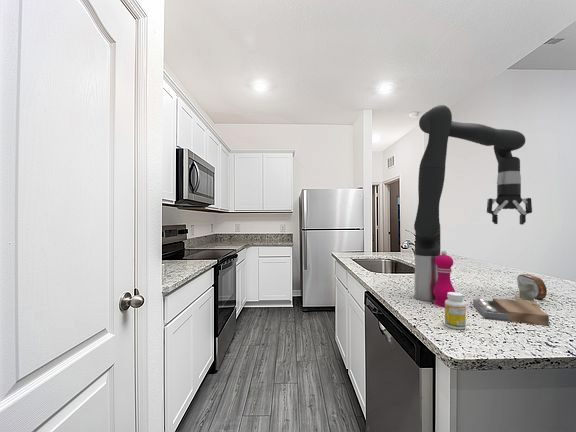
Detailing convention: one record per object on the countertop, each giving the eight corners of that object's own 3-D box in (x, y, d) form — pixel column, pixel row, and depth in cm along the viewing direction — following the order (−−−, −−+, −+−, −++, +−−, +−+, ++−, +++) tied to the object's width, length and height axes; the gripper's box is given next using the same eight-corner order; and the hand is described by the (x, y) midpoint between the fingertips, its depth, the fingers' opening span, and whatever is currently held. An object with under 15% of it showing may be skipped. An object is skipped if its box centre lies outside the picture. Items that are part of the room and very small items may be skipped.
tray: (485, 318, 91) (485, 312, 91) (473, 304, 105) (473, 299, 106) (508, 321, 88) (507, 314, 88) (492, 306, 103) (492, 300, 103)
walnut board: (508, 321, 88) (507, 311, 88) (492, 306, 103) (492, 298, 103) (548, 325, 85) (548, 315, 85) (526, 309, 100) (526, 301, 100)
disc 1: (491, 305, 99) (489, 308, 99) (487, 301, 103) (485, 305, 103) (480, 298, 100) (477, 302, 100) (476, 295, 104) (474, 299, 104)
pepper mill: (453, 302, 108) (452, 249, 108) (457, 308, 101) (457, 251, 101) (431, 301, 110) (431, 249, 110) (434, 306, 103) (434, 251, 103)
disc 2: (495, 309, 95) (492, 312, 95) (491, 305, 98) (488, 309, 99) (482, 302, 96) (480, 305, 96) (479, 298, 100) (477, 302, 100)
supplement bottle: (464, 331, 80) (464, 297, 80) (442, 326, 84) (442, 293, 84) (467, 326, 84) (467, 293, 84) (447, 321, 88) (446, 290, 88)
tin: (547, 301, 110) (547, 279, 110) (538, 301, 111) (538, 279, 111) (523, 291, 125) (523, 272, 125) (515, 291, 125) (515, 272, 125)
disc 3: (500, 313, 91) (498, 317, 91) (495, 308, 94) (493, 312, 95) (487, 306, 92) (485, 310, 92) (483, 302, 95) (481, 306, 96)
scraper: (529, 309, 101) (529, 286, 101) (514, 299, 114) (514, 278, 114) (540, 310, 100) (540, 287, 100) (523, 299, 113) (523, 279, 113)
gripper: (490, 183, 113) (490, 224, 113) (535, 181, 108) (534, 224, 108) (485, 185, 120) (484, 223, 120) (527, 184, 115) (526, 224, 115)
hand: (508, 224), depth 114 cm, fingers open, 8 cm apart
